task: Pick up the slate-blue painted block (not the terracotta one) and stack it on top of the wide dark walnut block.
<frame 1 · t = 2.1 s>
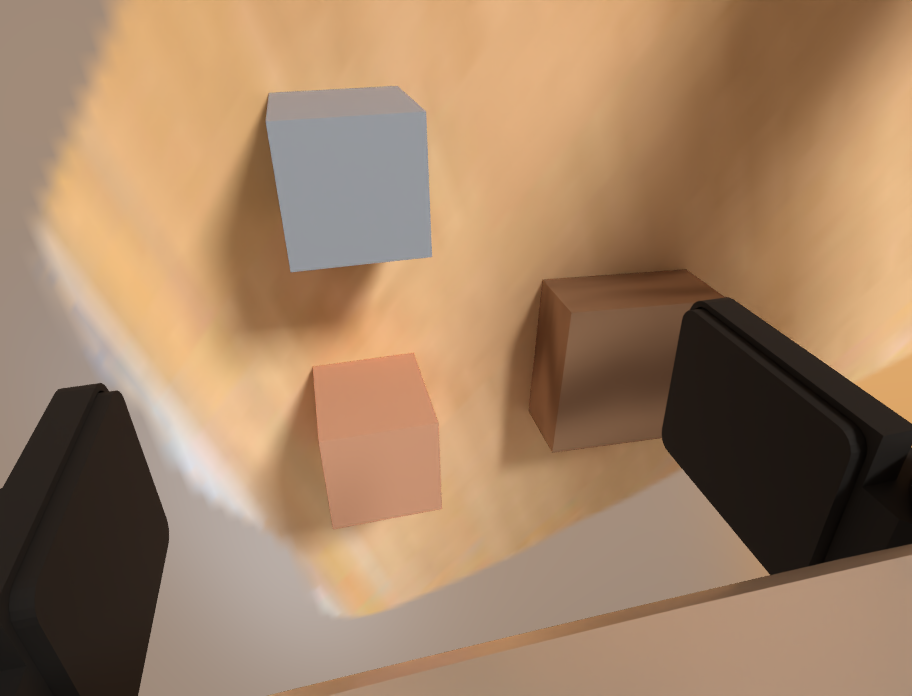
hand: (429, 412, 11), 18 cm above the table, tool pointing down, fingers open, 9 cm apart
slate block: (341, 153, 26), on the table
walnut base: (602, 339, 34), on the table
terracotta block: (368, 400, 32), on the table
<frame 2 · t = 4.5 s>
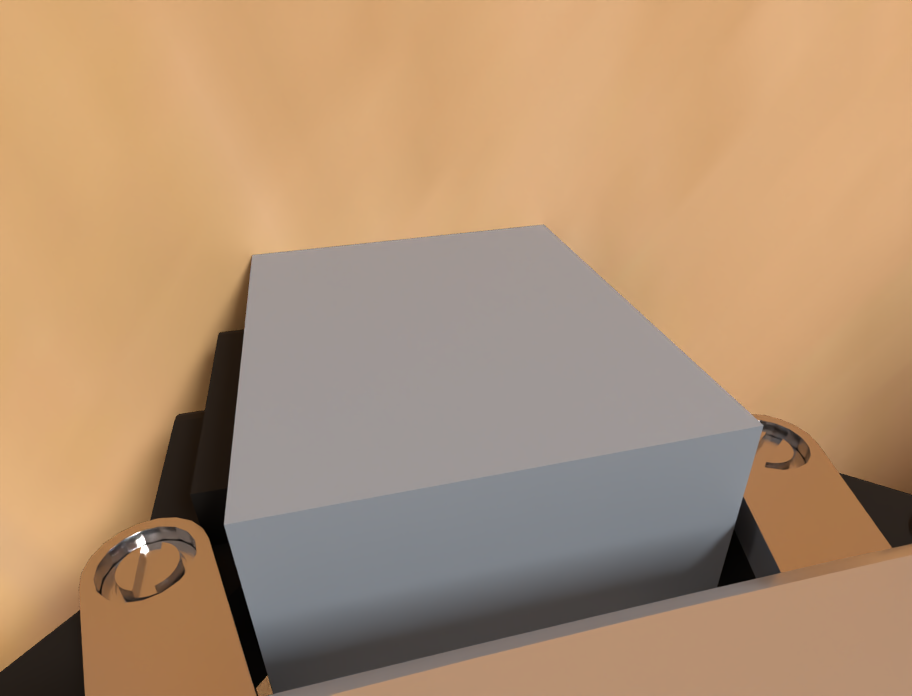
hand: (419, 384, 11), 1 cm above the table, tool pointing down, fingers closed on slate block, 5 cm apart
slate block: (412, 364, 12), on the table, touching gripper
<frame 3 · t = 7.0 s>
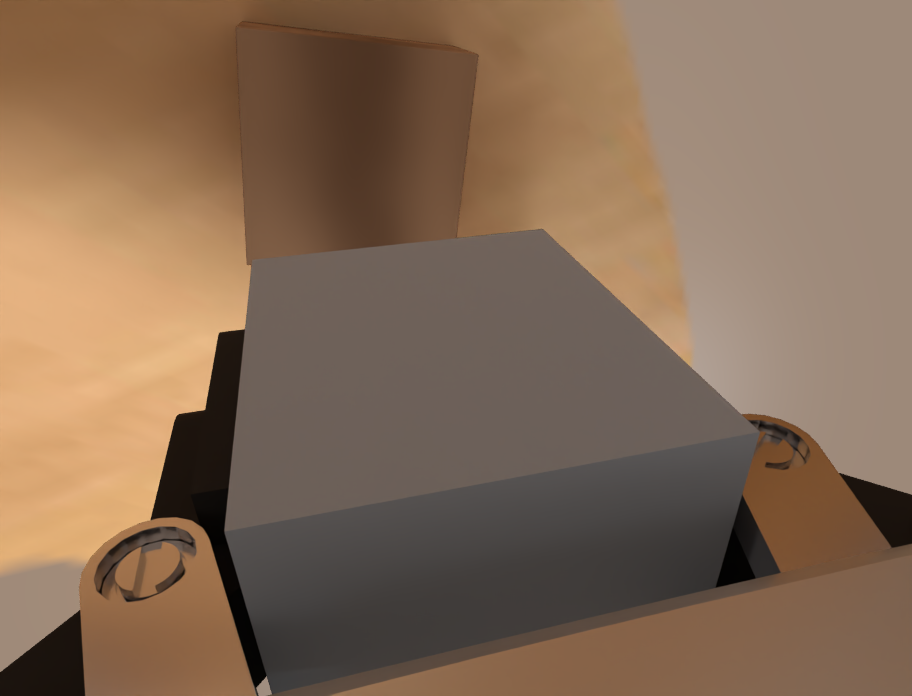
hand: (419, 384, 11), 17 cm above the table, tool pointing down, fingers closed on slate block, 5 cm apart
slate block: (412, 367, 12), point 17 cm above the table, touching gripper
walnut base: (348, 140, 26), on the table
when the fingers open (6 cm above the table, at t = 9.7 s): slate block drops 1 cm, point 4 cm above the table.
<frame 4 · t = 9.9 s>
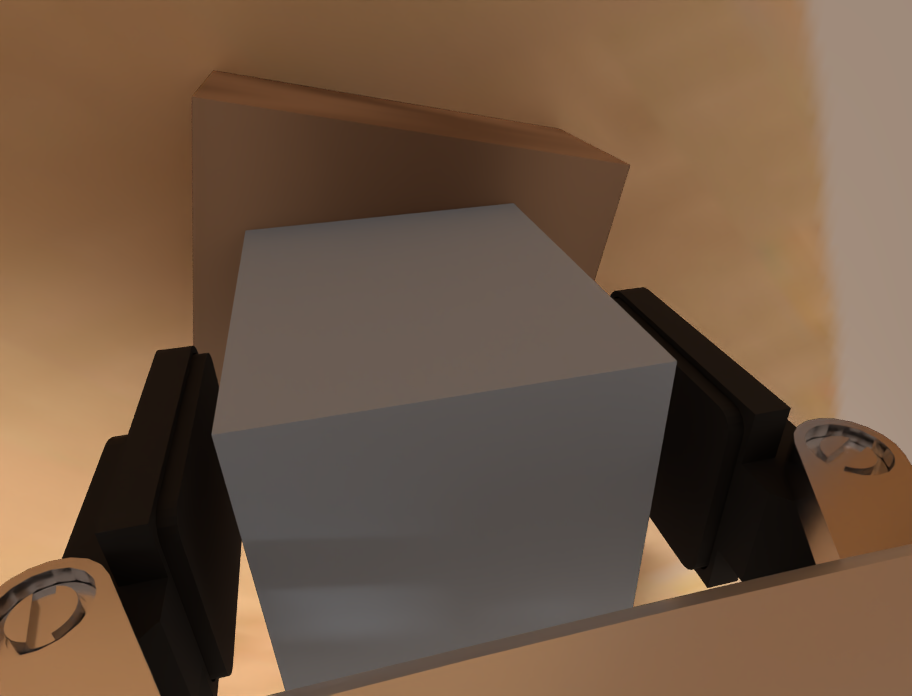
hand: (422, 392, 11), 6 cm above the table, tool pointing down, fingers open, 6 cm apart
slate block: (395, 333, 13), point 4 cm above the table
walnut base: (377, 261, 16), on the table
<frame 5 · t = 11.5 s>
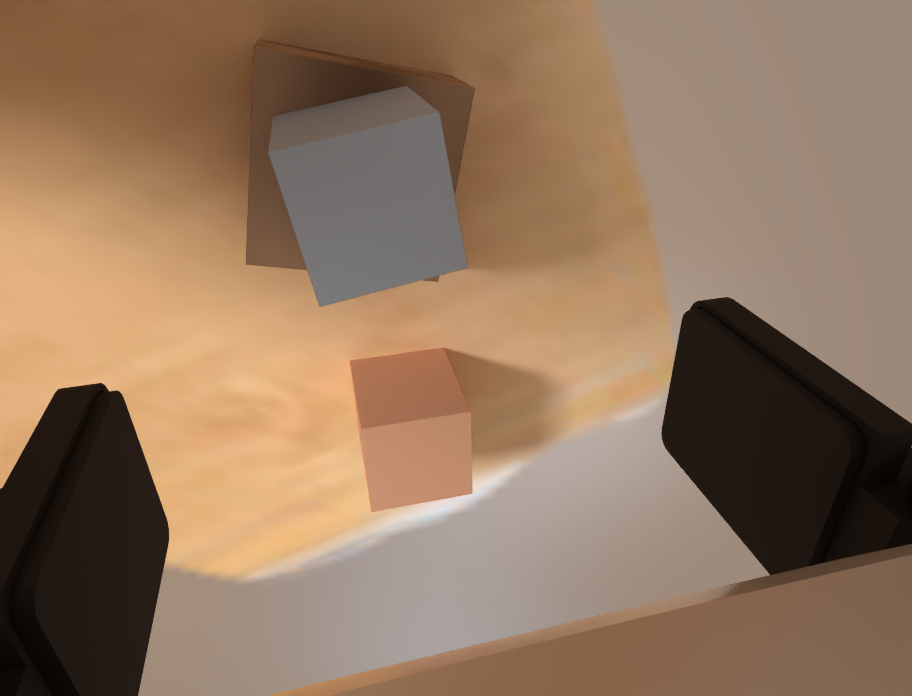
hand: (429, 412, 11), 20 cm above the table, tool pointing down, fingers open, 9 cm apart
slate block: (357, 167, 24), point 4 cm above the table, touching walnut base
walnut base: (349, 155, 28), on the table, touching slate block
terracotta block: (400, 392, 34), on the table
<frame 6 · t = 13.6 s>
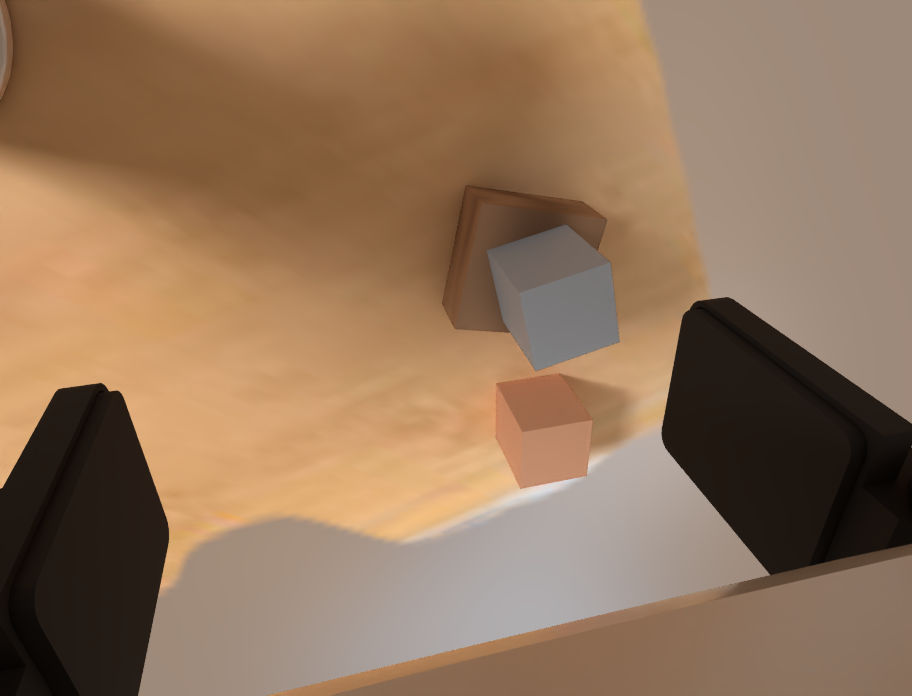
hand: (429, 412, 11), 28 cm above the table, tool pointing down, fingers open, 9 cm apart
slate block: (533, 274, 38), point 4 cm above the table, touching walnut base
walnut base: (509, 251, 41), on the table, touching slate block
terracotta block: (527, 405, 48), on the table
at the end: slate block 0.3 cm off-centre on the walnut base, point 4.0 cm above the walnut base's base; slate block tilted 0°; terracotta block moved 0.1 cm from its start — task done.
